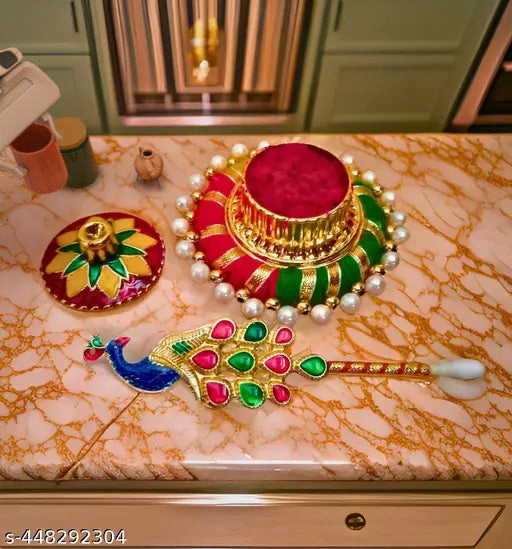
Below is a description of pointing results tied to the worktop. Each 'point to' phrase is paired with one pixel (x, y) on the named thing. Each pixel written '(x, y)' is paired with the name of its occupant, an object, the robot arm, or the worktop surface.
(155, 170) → the pot
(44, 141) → the cup
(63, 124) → the jar
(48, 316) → the worktop surface
